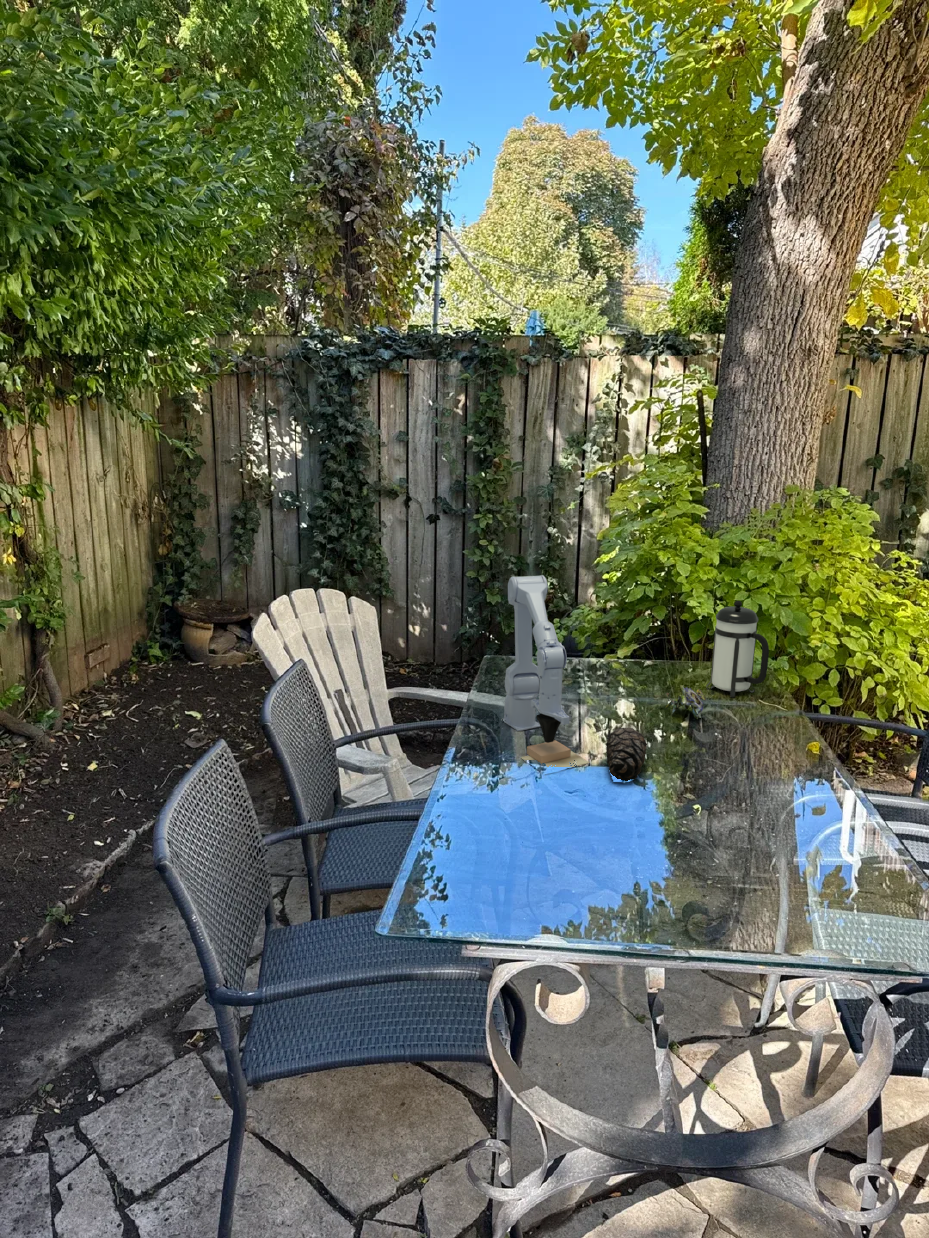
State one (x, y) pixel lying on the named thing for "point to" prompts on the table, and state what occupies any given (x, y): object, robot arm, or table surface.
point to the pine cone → (625, 753)
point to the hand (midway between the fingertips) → (548, 741)
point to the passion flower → (688, 701)
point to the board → (563, 761)
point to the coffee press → (737, 650)
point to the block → (548, 751)
